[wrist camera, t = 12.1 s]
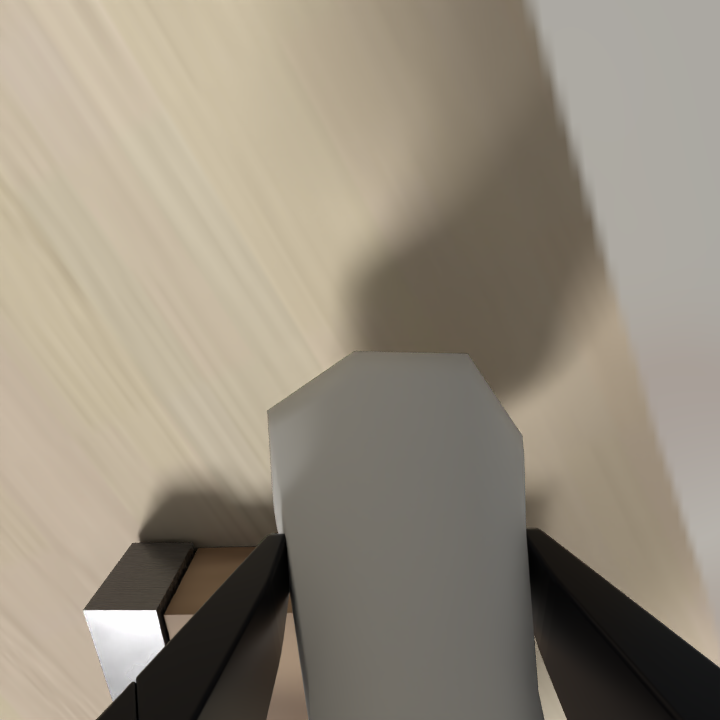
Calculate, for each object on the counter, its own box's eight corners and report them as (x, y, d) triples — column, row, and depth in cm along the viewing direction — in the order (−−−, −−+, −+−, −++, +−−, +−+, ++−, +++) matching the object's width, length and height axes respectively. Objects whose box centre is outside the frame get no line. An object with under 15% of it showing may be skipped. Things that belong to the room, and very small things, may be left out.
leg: (229, 734, 20) (207, 817, 17) (180, 734, 20) (150, 817, 17) (192, 542, 16) (156, 610, 13) (132, 542, 16) (83, 610, 13)
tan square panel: (473, 717, 20) (491, 800, 17) (235, 719, 20) (214, 801, 17) (487, 541, 16) (513, 609, 13) (198, 548, 17) (163, 615, 14)
